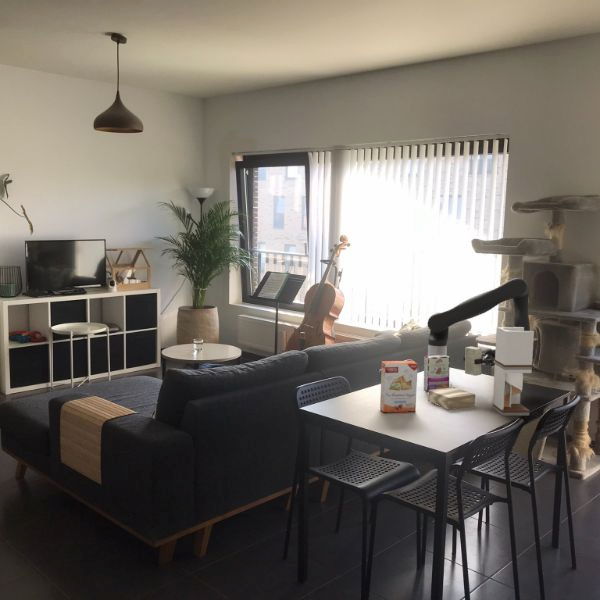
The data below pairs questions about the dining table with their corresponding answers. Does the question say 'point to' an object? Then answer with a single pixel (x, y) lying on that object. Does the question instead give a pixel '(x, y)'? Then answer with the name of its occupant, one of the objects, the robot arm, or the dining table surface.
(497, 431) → the dining table surface
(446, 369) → the candy bar box
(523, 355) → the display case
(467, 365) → the skincare box
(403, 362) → the cracker box
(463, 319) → the robot arm
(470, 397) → the birch plinth
